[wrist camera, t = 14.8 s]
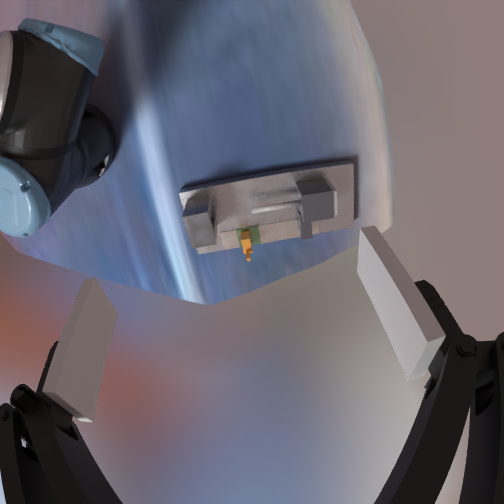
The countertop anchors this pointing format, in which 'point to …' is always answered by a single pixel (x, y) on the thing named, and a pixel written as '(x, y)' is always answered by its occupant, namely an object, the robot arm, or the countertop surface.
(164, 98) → the countertop surface
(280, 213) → the gauge board
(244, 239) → the orange peg piece
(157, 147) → the countertop surface
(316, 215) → the grey block with rod
